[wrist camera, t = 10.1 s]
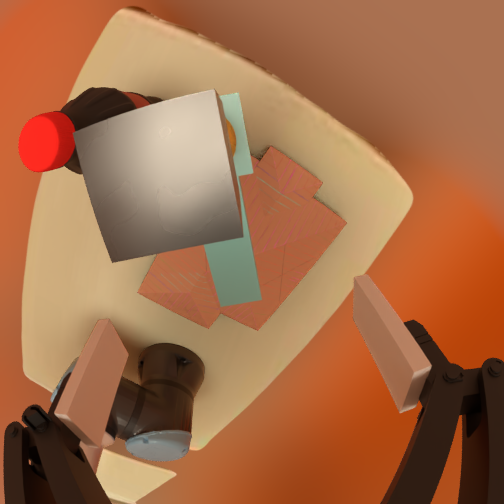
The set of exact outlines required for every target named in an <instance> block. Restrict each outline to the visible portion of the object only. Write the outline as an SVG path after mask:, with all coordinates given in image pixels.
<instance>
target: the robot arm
mask: <svg viewBox="0 0 504 504" xmlns="http://www.w3.org/2000/svg"><path fill="white" fill-rule="evenodd" d="M353 320H354V322H355V324H356V325H357V327H358V329H359V331H360V333H361V335H362V337H363V339H364V341H365V343H366V345H367V347H368V348H369V350H370V352H371V354H372V356H373V358H374V360H375V362H376V364H377V366H378V368H379V370H380V372H381V375H382V376H383V379H384V380H385V383H386V385H387V387H388V389H389V391H390V393H391V395H392V397H393V399H394V402H395V404H396V406H397V408H398V410H399V412H400V413H402V412H405V411H407V410H410V409H412V408H415V407H416V405H417V403H418V401H419V400H420V402H421V404H422V406H423V407H422V409H421V411H420V413H419V415H418V418H417V419H418V420H417V423H416V426H415V429H414V431H413V434H412V437H411V439H410V442H409V444H408V447H407V449H406V451H405V454H404V456H403V458H402V461H401V463H400V465H399V468H398V470H397V472H396V474H395V476H394V478H393V480H392V482H391V484H390V486H389V488H388V490H387V492H386V494H385V496H384V498H383V500H382V502H381V503H380V504H430V503H431V501H432V498H433V496H434V493H435V491H436V489H437V486H438V483H439V480H440V478H441V476H442V473H443V470H444V467H445V464H446V461H447V458H448V454H449V452H450V448H451V445H452V441H453V438H454V434H455V430H456V426H457V422H458V418H459V415H462V465H461V478H460V489H459V497H458V504H504V362H503V361H502V360H500V359H497V358H490V359H487V360H486V361H485V362H484V363H483V365H482V367H481V368H476V369H466V370H464V369H463V368H462V367H460V366H459V365H456V364H451V363H450V362H449V361H448V360H447V358H446V357H445V356H444V354H443V353H442V351H441V350H440V349H439V347H438V346H437V345H436V343H435V342H434V341H433V339H432V337H431V336H430V335H428V332H427V331H426V329H425V328H424V327H423V325H421V324H420V323H418V322H417V321H415V320H411V321H408V322H404V323H403V322H402V320H401V319H400V318H399V316H398V315H397V313H396V312H395V311H394V309H393V308H392V307H391V305H390V304H389V302H388V301H387V300H386V298H385V297H384V296H383V294H382V293H381V292H380V290H379V289H378V287H377V286H376V285H375V283H374V282H373V281H372V280H371V278H370V277H369V276H368V275H367V274H366V275H362V276H357V277H354V307H353ZM128 355H129V354H128V352H127V350H126V349H125V347H124V345H123V343H122V341H121V340H120V338H119V336H118V334H117V332H116V330H115V328H114V326H113V324H112V323H111V321H110V319H102V320H98V322H97V324H96V326H95V327H94V329H93V331H92V333H91V335H90V337H89V339H88V341H87V343H86V345H85V347H84V349H83V351H82V353H81V355H80V356H79V357H77V358H76V359H75V360H74V361H73V362H72V364H71V365H70V366H69V368H68V369H67V371H66V372H65V374H64V375H63V377H62V378H61V380H60V382H59V384H58V385H57V387H56V389H55V390H54V392H53V394H52V396H51V402H52V405H51V407H50V409H49V412H48V414H47V413H46V412H45V411H44V410H43V409H42V408H41V407H40V406H39V405H31V406H29V407H28V408H27V409H26V410H25V411H24V413H23V415H22V421H23V422H24V423H25V424H26V425H27V426H28V427H25V428H24V427H23V426H22V425H21V424H20V423H19V422H17V421H16V422H12V423H11V424H9V425H8V426H7V428H6V430H5V436H4V494H5V504H112V503H111V501H110V500H109V498H108V496H107V495H106V493H105V491H104V490H103V488H102V486H101V484H100V482H99V481H98V479H97V477H96V472H97V468H98V464H99V461H100V457H101V454H102V450H103V448H104V447H106V446H108V445H111V444H113V443H114V441H115V437H118V438H120V439H123V440H125V441H126V442H125V445H126V449H127V451H128V452H130V453H131V454H132V455H134V456H136V457H139V458H142V459H146V460H152V461H173V460H177V459H180V458H182V457H184V456H185V455H186V454H187V453H188V451H189V447H190V441H191V438H192V434H191V429H192V416H193V403H194V397H195V396H196V394H197V392H198V390H199V388H200V386H201V384H202V382H203V379H204V365H203V363H202V361H201V360H200V358H199V357H198V356H197V355H196V354H194V353H193V352H191V351H190V350H188V349H186V348H184V347H181V346H178V345H173V344H156V345H152V346H150V347H148V348H146V349H145V350H144V351H143V352H142V353H141V355H140V358H139V361H138V375H139V383H140V385H138V384H136V383H134V382H132V381H130V380H128V379H127V378H125V377H123V376H122V373H123V370H124V367H125V364H126V361H127V358H128ZM29 460H30V461H31V465H29Z"/></svg>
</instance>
